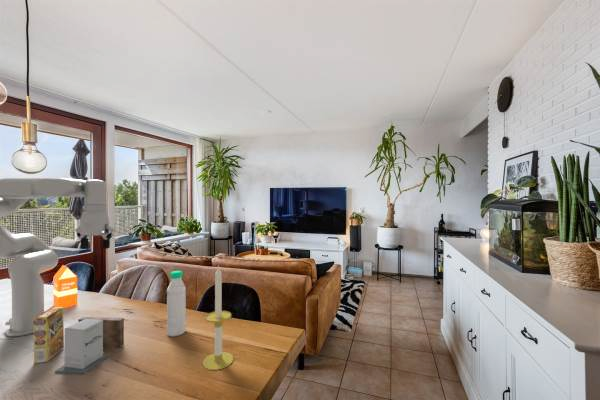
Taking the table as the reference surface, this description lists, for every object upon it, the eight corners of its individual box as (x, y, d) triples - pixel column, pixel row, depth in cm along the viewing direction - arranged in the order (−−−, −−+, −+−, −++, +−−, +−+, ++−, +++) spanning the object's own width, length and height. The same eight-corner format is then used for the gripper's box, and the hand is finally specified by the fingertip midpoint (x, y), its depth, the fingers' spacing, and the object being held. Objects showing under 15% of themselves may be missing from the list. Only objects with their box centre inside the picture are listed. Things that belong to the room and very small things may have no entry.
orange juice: (72, 300, 145) (72, 263, 145) (77, 304, 140) (77, 265, 140) (52, 305, 139) (52, 266, 139) (57, 309, 134) (57, 269, 134)
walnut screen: (78, 346, 100) (78, 319, 100) (83, 343, 102) (83, 316, 102) (119, 347, 99) (119, 320, 99) (123, 344, 101) (123, 318, 101)
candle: (222, 349, 98) (222, 260, 98) (239, 360, 92) (239, 264, 92) (196, 362, 91) (196, 265, 90) (213, 374, 84) (213, 270, 84)
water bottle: (189, 330, 112) (189, 270, 112) (175, 338, 106) (175, 274, 106) (177, 327, 115) (177, 268, 115) (162, 334, 109) (162, 272, 109)
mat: (54, 372, 85) (54, 370, 85) (82, 354, 95) (82, 352, 95) (85, 373, 84) (85, 372, 84) (109, 355, 94) (109, 353, 94)
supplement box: (83, 369, 86) (83, 329, 86) (63, 367, 87) (63, 327, 87) (103, 356, 93) (103, 319, 93) (85, 354, 94) (85, 317, 94)
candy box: (48, 362, 91) (47, 316, 91) (32, 363, 90) (32, 317, 90) (64, 348, 99) (64, 306, 99) (50, 349, 98) (50, 307, 98)
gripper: (68, 208, 113) (68, 249, 113) (107, 209, 112) (107, 250, 112) (83, 208, 121) (83, 246, 121) (120, 208, 120) (120, 247, 120)
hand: (95, 248), depth 117 cm, fingers open, 9 cm apart
